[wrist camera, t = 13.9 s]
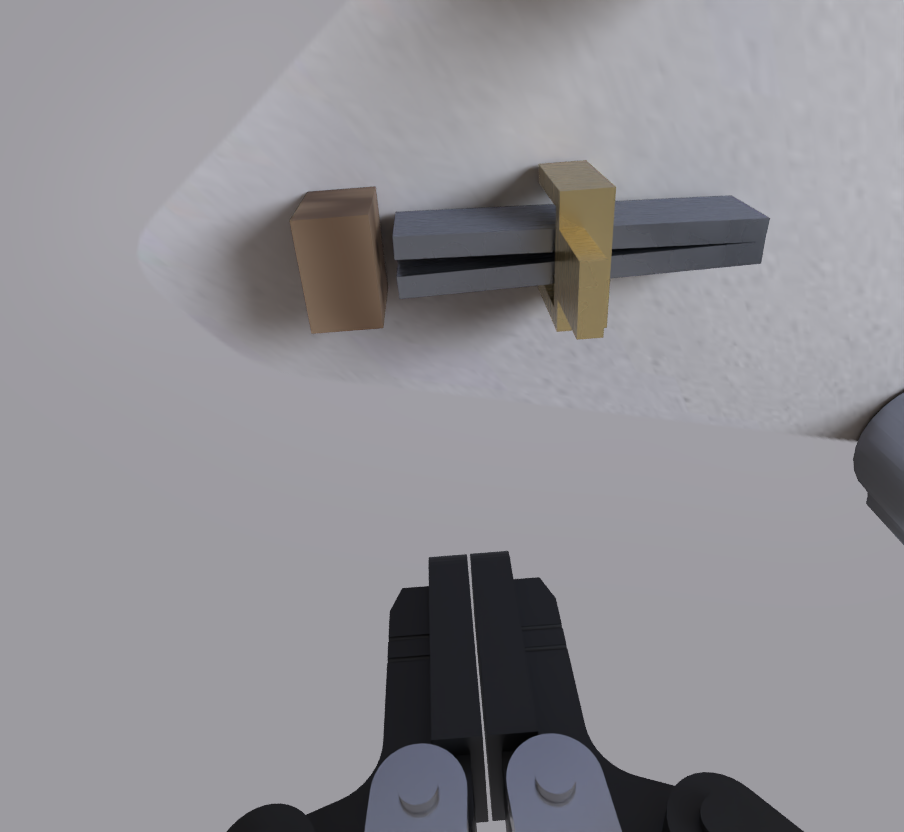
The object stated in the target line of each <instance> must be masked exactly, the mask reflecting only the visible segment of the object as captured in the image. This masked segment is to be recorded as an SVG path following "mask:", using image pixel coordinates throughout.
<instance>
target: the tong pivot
mask: <svg viewBox="0 0 904 832" xmlns="http://www.w3.org/2000/svg"><path fill="white" fill-rule="evenodd" d="M290 226H291V231H292V236H293V241H294V246H295V251H296V257H297V262H298V267H299V272H300V277H301V282H302V287H303V292H304V297H305V302H306V307H307V312H308V317H309V323H310V328H311V333H312V334H314V333H327V332H340V331H352V330H365V329H378V328H383V327H384V318H385V310H386V301H387V293H388V283H387V275H386V267H385V259H384V251H383V243H382V235H381V227H380V219H379V210H378V202H377V194H376V187H363V188H350V189H337V190H325V191H312V192H307V194H306V195H305V197H304V198H303V200H302V202H301V203H300V205H299V206H298V208H297V210H296V211H295V213H294V214H293V216H292V218H291V219H290Z"/></svg>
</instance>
